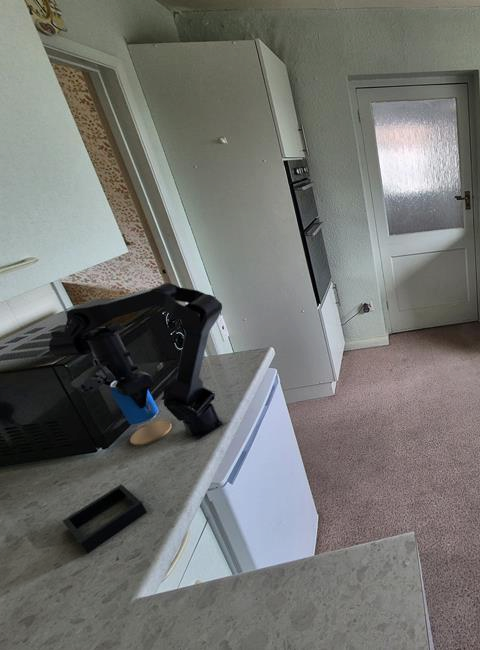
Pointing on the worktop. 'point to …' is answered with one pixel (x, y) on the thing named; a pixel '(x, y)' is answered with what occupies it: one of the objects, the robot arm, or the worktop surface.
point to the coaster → (150, 433)
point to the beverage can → (135, 407)
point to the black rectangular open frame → (111, 526)
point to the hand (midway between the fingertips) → (137, 404)
